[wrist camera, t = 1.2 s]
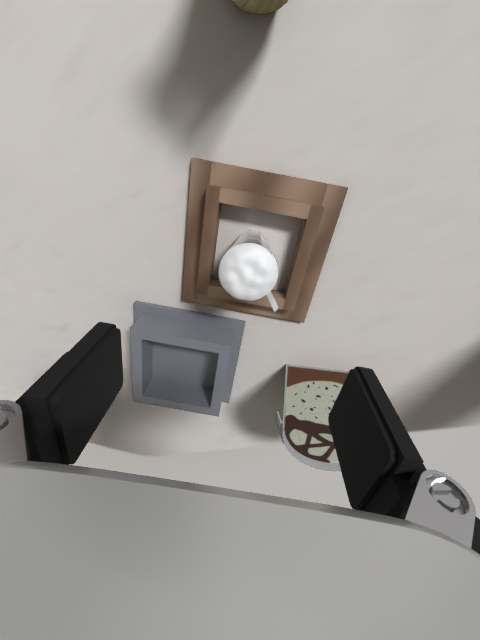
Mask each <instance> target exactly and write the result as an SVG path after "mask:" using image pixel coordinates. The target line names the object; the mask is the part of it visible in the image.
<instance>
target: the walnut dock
mask: <svg viewBox="0 0 480 640" xmlns="http://www.w3.org/2000/svg"><path fill="white" fill-rule="evenodd" d="M347 190H348V188H347V187H342V186H337V185H331V184H326V183H321V182H316V181H311V180H305V179H300V178H295V177H290V176H285V175H280V174H274V173H269V172H264V171H259V170H254V169H248V168H243V167H238V166H233V165H228V164H222V163H217V162H212V161H207V160H202V159H197V158H192V159H191V174H190V188H189V203H188V217H187V232H186V246H185V261H184V275H183V290H182V300H184V301H189V302H194V303H200V304H205V305H211V306H216V307H221V308H227V309H232V310H238V311H243V312H249V313H254V314H259V315H265V316H270V317H276V318H281V319H286V320H292V321H297V322H303V323H304V321H305V318H306V315H307V312H308V309H309V306H310V302H311V299H312V296H313V293H314V290H315V287H316V284H317V281H318V278H319V275H320V272H321V269H322V266H323V263H324V260H325V257H326V254H327V251H328V248H329V245H330V242H331V239H332V235H333V232H334V229H335V226H336V223H337V220H338V217H339V214H340V211H341V208H342V205H343V202H344V199H345V196H346V193H347ZM221 203H224V204H229V205H234V206H240V207H245V208H250V209H255V210H261V211H266V212H271V213H276V214H282V215H287V216H292V217H297V218H303V223H302V227H301V230H300V234H299V238H298V242H297V245H296V249H295V253H294V256H293V260H292V264H291V268H290V271H289V275H288V279H287V282H286V286H285V290H284V292H282V291H277V290H271V292H272V295H273V297H274V299H275V301H276V303H277V305H278V308H279V309H278V310H277V311H276V312H274V311H273V309H272V306H271V304H270V302H269V300H268V297H267V295H265V296H264V297H262V298H260V299H258V300H254V301H247V300H240V299H236V298H234V297H232V296H231V295H230V294H229V293H228V292H227V291H226V290H225V289H224V288H223V286H222V285H221V283H220V280H218V279H213V278H212V275H213V267H214V259H215V250H216V242H217V234H218V226H219V218H220V210H221Z"/></svg>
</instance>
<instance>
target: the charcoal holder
mask: <svg viewBox="0 0 480 640" xmlns="http://www.w3.org/2000/svg"><path fill="white" fill-rule="evenodd" d="M244 326H245V321H243V320H237V319H232V318H226V317H221V316H215V315H210V314H205V313H199V312H194V311H188V310H183V309H177V308H172V307H167V306H161V305H156V304H150V303H145V302H140V301H135V302H134V324H133V325H132V326H131V328H130V337H131V364H132V391H133V401H135V402H140V403H146V404H151V405H157V406H163V407H168V408H174V409H179V410H185V411H190V412H196V413H202V414H207V415H213V416H218V417H219V412H220V406H221V402H226V403H229V399H230V395H231V390H232V385H233V380H234V375H235V370H236V365H237V360H238V356H239V351H240V346H241V341H242V336H243V331H244Z"/></svg>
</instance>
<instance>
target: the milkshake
mask: <svg viewBox="0 0 480 640" xmlns="http://www.w3.org/2000/svg"><path fill="white" fill-rule="evenodd" d="M277 278H278V266H277V262H276V260H275V258H274V256H273V254H272V252H271V249H270V246H269V243H268V240H267V239H266V238H265V237H264V236H263V234H262V233H261V232H259V231H252V230H249V231H247V232H245V233H243V234H241V235H240V236H239V238H238V239H237V240H236V242H235V243H234V244H233V246H232V247H231V248H230V249H229V250H228V251H227V252H226V253H225V254H224V256H223V257H222V259H221V262H220V265H219V280H220V283H221V285H222V286H223V288H224V289H225V290H226V291H227V292H228V293H229V294H230V295H231V296H232V297H234V298H236V299H240V300H247V301H254V300H258V299H260V298H262V297H264V296H265V295H267V297H268V300H269V302H270V304H271V306H272V309H273V311H274V312H276V311H277V310H278V309H279V308H278V305H277V303H276V301H275V299H274V297H273V295H272V292H271V290H272V289H273V287H274V286H275V284H276V282H277Z"/></svg>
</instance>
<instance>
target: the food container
mask: <svg viewBox="0 0 480 640" xmlns="http://www.w3.org/2000/svg"><path fill="white" fill-rule="evenodd" d="M348 373H349V371H342V370H333V369H325V368H316V367H307V366H299V365H290V364H286V369H285V386H284V403H283V420H282V421H281V418H280V415H279V412H278V411H277V414H276V420H277V426H278V429H279V432H280V435H281V438H282V441H283V443H284V444H285V446H286V448H287V449H288V451H289V452H290V453H291V454H292V455H293V456H294V457H295V458H296V459H298V460H299V461H301V462H303V463H304V464H306V465H309V466H311V467H314V468H318V469H322V470H328V471H341V468H340V464H339V461H338V457H337V453H336V449H335V446H334V442H333V438H332V434H331V431H330V427H329V423H328V417H329V414H330V411H331V409H332V407H333V405H334V403H335V401H336V399H337V397H338V394H339V392H340V390H341V388H342V386H343V384H344V382H345V380H346V378H347V375H348Z"/></svg>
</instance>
